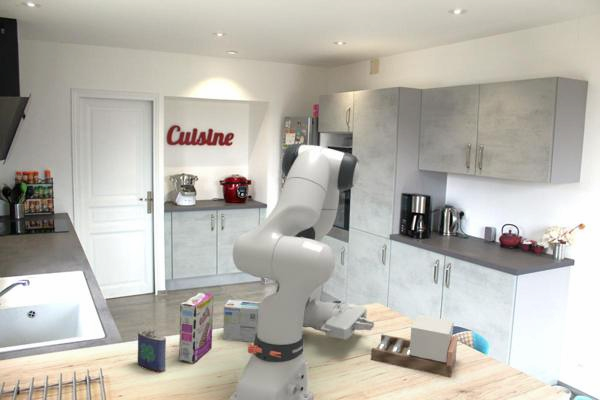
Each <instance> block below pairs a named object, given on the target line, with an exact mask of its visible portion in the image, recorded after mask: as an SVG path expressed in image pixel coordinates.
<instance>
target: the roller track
mask: <svg viewBox="0 0 600 400" xmlns="http://www.w3.org/2000/svg"><path fill="white" fill-rule="evenodd" d="M380 337H381V338H380V343H379V344H378V346H377V347H376V348H375V347H372V348H371V353H370V360H371V361H376V362H379V363H384V364H389V365H394V366H398V367H402V368H403V367H404V368H407V369H411V370H416V371H420V372H425V373H430V374H433V375H438V376H443V377H447V378H451V377H452V374H453V369H454V366H455V363H456V360H457V359H456V358H457V347H458V346H457V345H458V338H459V337H458V336H456V335H452V341H451V344H450V347H449V350H448V356H447V362H446V363H445V362H441V361H436V360H431V359H426V358H422V357H417V356H412V355H409V352H410V339H408V338H402V337H399V336H393V335H387V334H381V335H380Z"/></svg>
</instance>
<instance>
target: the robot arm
mask: <svg viewBox="0 0 600 400" xmlns="http://www.w3.org/2000/svg"><path fill="white" fill-rule="evenodd" d="M359 163H360V162H359V159H358V157H357V156H356V155H354V154H352V153H349V152H343V151H340V150H336V149H332V148H328V147H325V146H321V145H314V144H303V143H291V144H290V145H289V146H287V147H286V148H285V150H284V153H283V155H282V158H281V171H282V174H284V177H286V178H285V181H284V183H283V186H282V188H281V191H280V195H279V196H278V199H277V201H276V204H275V206H274V208H273V209H272V211H271V212H270V213H269V214H268V216H267V217H266V218H265V219H263V221H262V222H261V223H259V224H258V225H257V226H256V227H254V228H253V229H251V230H249V231H247V232H245V233H242V234H241V235H240V236H238V238H237V239H236V240H235V243H234V245H233V248H232V261H233V264H234V266H235V268H236V269H237V270H238V271H240V272H243V273H245V274H247V275H249V276H252V277H255V278H258V279H259V278H261V279H265V280H272V281H277V282H279V283H278V285H277V287H276V292H274V293H270V294H269V295H267V296H265V297H264V298H263V299H262V300H261V301H259V302H260V304H259V307H258V318H257V333H256V335H255V339H254V342H252V343H249V345H248V347H247V352H248V353H249V354H251V356H250V357H249V359H248V361H247V363H246V364H245V367H244V369H243V371H242V373H241V375H240V376H239V379H238V381H237V384H236V389H235V390H234V392H233V394H232V395H231V396H230V398H229V399H228V400H314V393H313V392H312V391H311V390H310V389H309V363H308V362H307V360H306V359H305V356H304V354H303V352H304V350H305V349H304V348H305V347H304V346H305V338H304V337H305V336H304V334H303V328H311V329H313V330H316V331H319V332H323V333H324V334H325V335H326V336H328V337H331V338H335V339H339V340H348V339H349V338H350V337H351V336H352V335H353V334H354V332H355V331H364V330H366V331H372V329H374V326H375V322H374V320H373V321H372V320H369V319H367V312H368V311H367V308H366V307H364V306H362V305H358V304H354V303H349V302H345V303H344V300H338V299H337V300H333V301H327V302H326V301H322V300H321V297H322V294H323V288H324V285H325V284H326V283H327V282H328V281H330V279H331V277H332V276H333V273H334V271H335V265H336V259H335V255H334V253H333V250H332V248H331V247H330V246H329V245H328V244H327V243H323V242H321V241H322V240H323V238H324V237H325V236H326V235H327V234H328V233H329V232H330V231H331V230H332V228H333V225H334V223H335V220H336V218H337V214H338V208H339V203H340V202H339V200H340V193H343V192H344V191H349V190H350V189H352V188H353V187H355V184H356V183H357V181H358V179H359V176H360V171H361V170H360V164H359Z"/></svg>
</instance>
